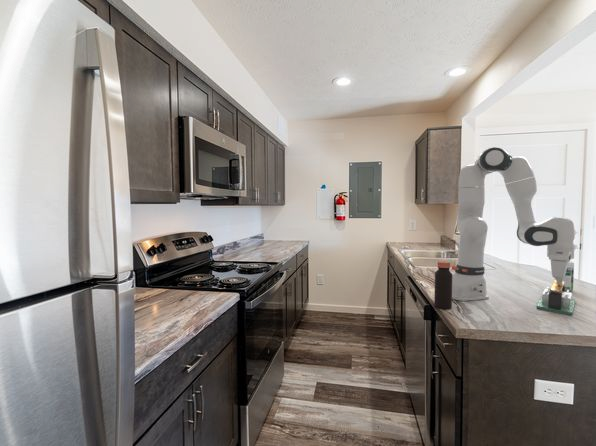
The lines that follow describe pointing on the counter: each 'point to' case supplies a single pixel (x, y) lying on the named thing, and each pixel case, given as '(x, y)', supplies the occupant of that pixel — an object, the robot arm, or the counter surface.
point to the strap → (556, 288)
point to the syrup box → (569, 276)
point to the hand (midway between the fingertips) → (559, 284)
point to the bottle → (443, 286)
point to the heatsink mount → (557, 302)
